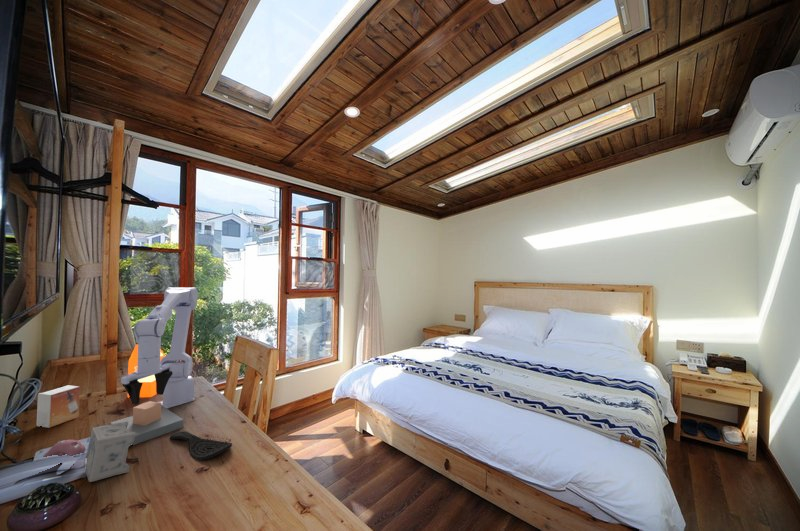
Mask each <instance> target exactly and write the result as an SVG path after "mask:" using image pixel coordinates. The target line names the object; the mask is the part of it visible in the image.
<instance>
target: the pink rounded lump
mask: <svg viewBox="0 0 800 531" xmlns="http://www.w3.org/2000/svg"><path fill="white" fill-rule="evenodd" d="M85 452H86V446H85V445H83V444H82V443H81V441H79V440H76V439H64V440H58V441H57V443H54V444H53V446H52V447H51V448H50V449H49V450H48V451H47V452H46V453H44V455H42V456H43V457H47V456H52V455H58V456H62V455H65V454H67V455H69V456H73V455H76V454H80V453H84V454H85Z"/></svg>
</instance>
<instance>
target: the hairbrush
mask: <svg viewBox="0 0 800 531" xmlns="http://www.w3.org/2000/svg"><path fill="white" fill-rule="evenodd" d="M203 437H204V436H202V438H201V437H200V436H197V435H195V434H193V433H191V432H188V431H187V430H186V431H185V430H183V431H179V432H178V431H177V432H174V433H172V434H170V436H169V438H170V440H184V441H186V442H187V441H188V442H189V455H190V456H191V458H193V459H195V460H197V461H205V460H208V459H211V458H213V457H216V456H218V455H219V454H221V453H224V452H225V451H227V450H229V449H230V448H231V447H233V442H231V441H232V439H229V438H227V441H225V440H223V439H224V438H223V437H221V438H222V439H220V437H217V439H219V440H216V439H215V438H214V437H215V436H209V435H208V438H203ZM209 437H210V438H209ZM212 437H213V438H212ZM211 438H212V439H211Z"/></svg>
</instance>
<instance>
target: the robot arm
mask: <svg viewBox="0 0 800 531" xmlns="http://www.w3.org/2000/svg"><path fill="white" fill-rule="evenodd" d="M198 298H199V292H198V289H197V288H196V286H195V287H194V286H193V287H171V286H169V287H166V289H165V291H164V294H163V301H162V303H161V304H160V305H159V304H158V305H156V306H155V307H154V308H153V309H152V310H151V311H150V312H149V314H148V315H146V316H145V317H144V318H142V319H140V320H137V322H135V323H134V324H135V325H134V329H133V334H134V337H135V342H136V344H138V361H137V371H136V372H134V373H131V374H129V375H128V374H127V375H124V376H121V378H120V380H121V381H120V384H122V386H123V388H124V389H125V391H126V392H127V395H128V394H129V397H130V398H129V399H130V402H131V405H136V406H138V405H140V400H141V399H140V398H141V397H140V390H141V387H142V384H143V383H141V382H139V381H138V380H139V379H142V378H145V377H148V376H151V375H155V379H156V393H157V394H156V395H160V396H162V400H161V401H158V402H159V403H161V407H165V408H166V409H170V408H174V407H177V406H181V405H183V404H187V403H191V402H193V401H195V400H196V399H195V380H194V378H193V376H192V371H193V358H192V356H190V355H189V354H188V353H186V347H187V340H188V333H189V327H190V320H191V314H192V311H193V310H195V309H196V308H197V305H198ZM173 311H175V318H174V325H173V330H172V331H173V332H172V336H171V343H170V348H169V349H170V350H169V353H168V354H166V355H164V357H163V358H162V359H161V362H160V353H161V350H162V349H161V346H162V344H161V343H162V336H163V335H164V333H165V329H166V327H167V323H168V321H169V320H170V319H171V318H172V316H173Z"/></svg>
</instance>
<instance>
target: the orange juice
mask: <svg viewBox="0 0 800 531" xmlns="http://www.w3.org/2000/svg"><path fill="white" fill-rule="evenodd" d="M163 357H165V354H164V352H163V350H162V349H161V353H160V362H161V359H162V358H163ZM137 361H138V343H136V344H135V346H134V348H133V351H132V352H131V355H130V357H129V359H128V369H127V372H128V373H127V375H129V374H131V373H134V372H136V371H137ZM138 381H139V382H141V383H143V384H142V387H141V390H140V398H153V397H155V395H158V394H157V393H156V379H155V375H151V376H148V377H145V378H142V379H139V380H138ZM127 398H128V399H130V398H129V394H128V393H127Z"/></svg>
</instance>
